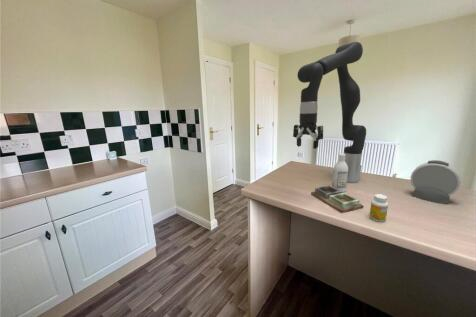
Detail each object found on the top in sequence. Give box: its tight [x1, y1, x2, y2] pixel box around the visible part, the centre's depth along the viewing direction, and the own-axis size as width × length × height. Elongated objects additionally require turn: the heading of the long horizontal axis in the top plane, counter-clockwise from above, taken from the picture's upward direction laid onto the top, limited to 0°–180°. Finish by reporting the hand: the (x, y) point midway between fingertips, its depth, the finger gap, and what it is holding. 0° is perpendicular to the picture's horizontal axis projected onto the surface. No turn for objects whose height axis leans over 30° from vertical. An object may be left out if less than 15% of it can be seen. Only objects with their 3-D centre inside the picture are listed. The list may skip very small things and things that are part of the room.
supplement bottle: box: [369, 193, 389, 223], centre depth 76 cm, size 5×5×10 cm
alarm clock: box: [410, 159, 462, 206], centre depth 90 cm, size 16×10×18 cm, turn 41°
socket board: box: [310, 185, 364, 214], centre depth 93 cm, size 12×20×4 cm, turn 17°
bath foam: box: [331, 153, 348, 193], centre depth 102 cm, size 7×7×20 cm
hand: (306, 147), depth 91 cm, fingers open, 8 cm apart
